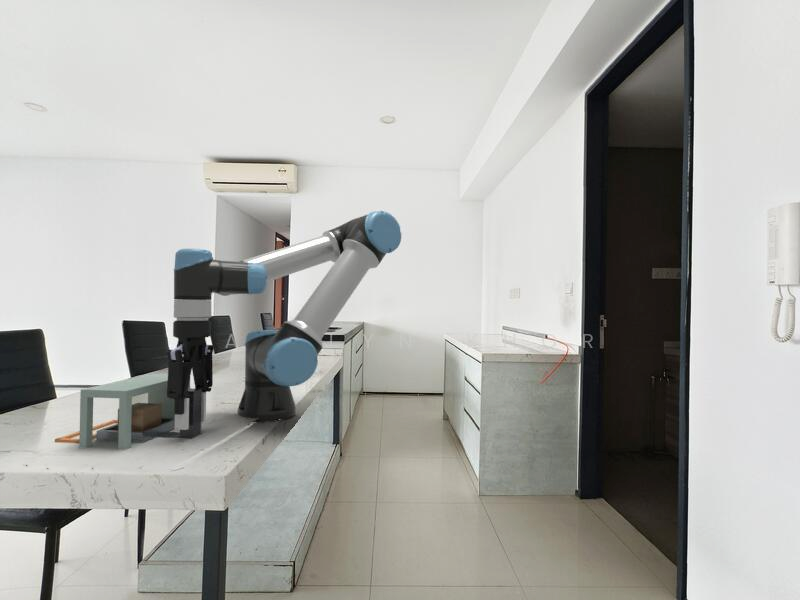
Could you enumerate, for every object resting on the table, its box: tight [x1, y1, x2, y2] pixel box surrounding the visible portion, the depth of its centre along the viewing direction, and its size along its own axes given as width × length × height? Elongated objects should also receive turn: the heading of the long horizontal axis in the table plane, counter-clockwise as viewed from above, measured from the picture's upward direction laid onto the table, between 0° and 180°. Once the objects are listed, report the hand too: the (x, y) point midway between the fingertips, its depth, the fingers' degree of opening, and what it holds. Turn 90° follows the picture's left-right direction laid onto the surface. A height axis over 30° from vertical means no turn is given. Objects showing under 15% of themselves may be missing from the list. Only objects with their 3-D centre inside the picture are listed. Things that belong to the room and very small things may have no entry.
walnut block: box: [117, 402, 162, 432], centre depth 96 cm, size 6×6×6 cm
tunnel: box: [78, 373, 191, 451], centre depth 96 cm, size 10×21×12 cm, turn 173°
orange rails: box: [54, 419, 118, 444], centre depth 97 cm, size 6×16×2 cm, turn 173°
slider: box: [95, 387, 202, 444], centre depth 95 cm, size 19×12×11 cm, turn 83°
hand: (190, 424), depth 94 cm, fingers open, 6 cm apart
